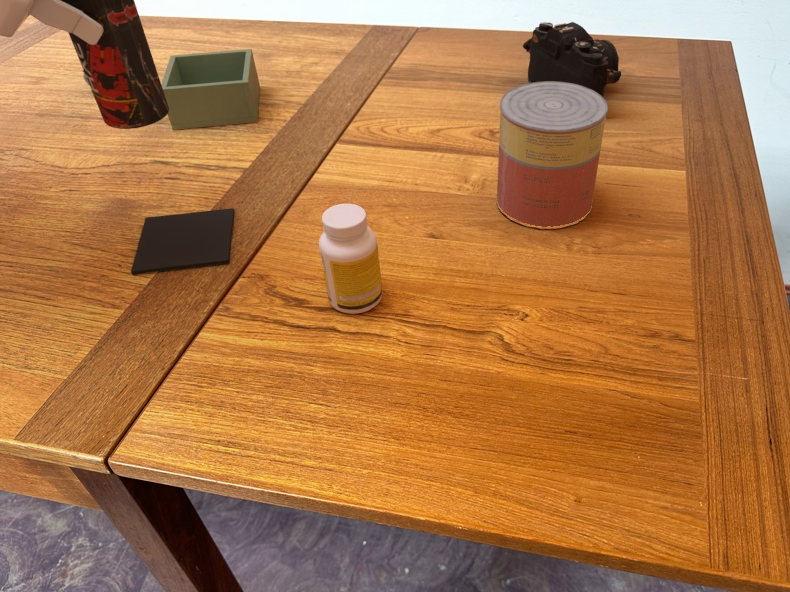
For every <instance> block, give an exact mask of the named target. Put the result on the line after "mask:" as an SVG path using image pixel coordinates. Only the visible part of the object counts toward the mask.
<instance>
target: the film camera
mask: <svg viewBox="0 0 790 592" xmlns="http://www.w3.org/2000/svg"><path fill="white" fill-rule="evenodd" d="M522 47H523V49H524V50H525V52H526V53H529V63H528V66H527V67H528V68H527V81H528V82H529V83H534V82H544V81H555V82H566V83H572V84H577V85H580V86H584V87H586V88H589V89H591V90H593V91H595V92H597V93H598V94H600V95H601V96H602V97H603V98H604V89H605V87H606V86H607V85H610V84H612V85H613V84H616V83H618V82H619V81H620V80H621V77H622V71H621V70H619V63H620V62H619V61H620V57H619V55H618V51H617V49H616V46H615V45H614V44H613V42H611V41H610V40H608V39H597V38H595V39H594V38H593V37H592V35H590V34H589V33H588V31H587V30H586V29H585V28H584V27H583V26H581V25H580V24H578V23H576V22H574V21H571V22H568V23H566V22H565V23H564V22H563V23H558V24H553V23H552V22H540V23H539V24H538V26H536V27H535V28H534V29H533V30H532V37H530V38H529V39H527V40H526V41H524V43H523V44H522Z"/></svg>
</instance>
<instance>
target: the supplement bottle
mask: <svg viewBox="0 0 790 592" xmlns="http://www.w3.org/2000/svg"><path fill="white" fill-rule="evenodd" d="M321 221H322V228H323V232H322V234H321V235H320V237H319V239H318V248H319V249H318V250H319V254H320V260H321V265H322V270H323V275H324V280H325V281H324V282H325V287H326V292H327V297H328V301H329V303H330V305H331V307H332V308H334V309H335V310H337V311H338V312H340V313H344V314H351V315H356V314H362V313H366V312H368V311H370V310H373V308H375V307H376V306H377V305H378V304H379V303H380V301H381V300H382V298H383V284H382V275H381V274H382V273H381V265H380V257H379V256H380V255H379V247H378V240H377V236H376V233H375V231H373V230H372V228H370V227H369V226H368V218H367V213H366V211H365V209H364V208H363V207H361V206H360V205H358V204H354V203H339V204H335V205H332V206H330V207H329V208H327V209H326V210H325V211H324V212H323V213H322V215H321Z"/></svg>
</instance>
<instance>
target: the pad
mask: <svg viewBox="0 0 790 592" xmlns="http://www.w3.org/2000/svg"><path fill="white" fill-rule="evenodd" d="M235 212H236V211H235V208H234V207H231V208H221V209H213V210H212V209H211V210H204V211H202V210H201V211H193V212H185V213H176V214H175V213H174V214H165V215H156V216H147V217H145V218H144V222H143V225H142V228H141V234H140V235H139V239H138V244H137V247H136V251H135V254H134V257H133V262H132V264H131V265H132V266H131V269H130V273H131V275H133V276H134V275H142V274H151V273H159V272H168V271H177V270H186V269H194V268H203V267H213V266H220V265H228V264H230V260H231V259H230V258H231V250H232V239H233V233H234V232H233V231H234V223H235V215H236V213H235Z"/></svg>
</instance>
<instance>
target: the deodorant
mask: <svg viewBox="0 0 790 592" xmlns="http://www.w3.org/2000/svg"><path fill="white" fill-rule="evenodd" d="M61 1H63V2H65V3H67V4H69V5H71V6H73V7H74V8H76V9H78V10H80V11H82V12H83V13H84V11H85V10H88V11H89V12H91V13H92V14H94V15H95V16H96V17H97V18H100V19H101V20H103V21H104V23H105V25H106V28H105V30H104V32H103V34H102V35H101V37H100V39H99V40H98V42H97V44H95V45H91V44H89V43H87V42H85V41H84V40H82V39H81V38H79V37H78V36H76V35H75V34H73V33H69V32H67V33H68V35H69V37H70V40H71V43H72V45H73V48H74V50H75V53H76V56H77V57H78V60H79V63H80V66H81V68H82V71H83V70H84V72H83V74H84V73H85V75H86V78H87V80H88V83H89V85H88V86H89V87H90V90H91V92H92V95H93V97H94V100H95V102H96V105H97V107H98V110H99V112H100V114H101V117H102V119H103V122H104V124H105V125H107V126H108V127H111V128H113V129H118V130H132V129H139V128H143V127H148V126H150V125H154V124H155V123H158V122H160V121H161V120H163V119H164V118H165V117H166V116H168V112H169V107H168V104H167V101H166V97H165V94H164V91H163V88H162V85H161V84H162V81H161V79H160V76H159V74H158V73H159V72H158V71H157V66H156V64H155V60H154V58H153V55H152V51H151V48H150V46H149V42H148V38H147V36H146V33H145V30H144V27H143V23H142V21H141V18H140V14H139V12H138V11H139V10H138V9H137V5H136V2H135V0H61ZM88 83H87V84H88Z"/></svg>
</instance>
